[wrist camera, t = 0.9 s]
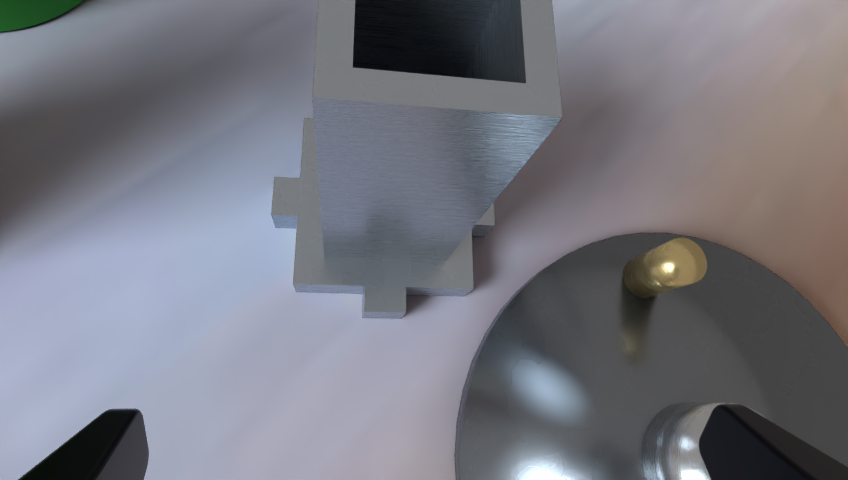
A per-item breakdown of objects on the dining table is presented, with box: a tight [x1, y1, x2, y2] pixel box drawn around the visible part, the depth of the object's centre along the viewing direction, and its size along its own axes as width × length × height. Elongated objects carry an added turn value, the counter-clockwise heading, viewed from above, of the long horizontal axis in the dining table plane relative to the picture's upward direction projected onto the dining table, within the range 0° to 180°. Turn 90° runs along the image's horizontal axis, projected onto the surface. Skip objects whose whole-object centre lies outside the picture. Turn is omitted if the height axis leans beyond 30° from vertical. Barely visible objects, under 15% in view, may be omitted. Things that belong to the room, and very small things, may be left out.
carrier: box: [455, 233, 848, 480], centre depth 20 cm, size 19×19×4 cm
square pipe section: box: [271, 0, 563, 319], centre depth 17 cm, size 9×9×13 cm
